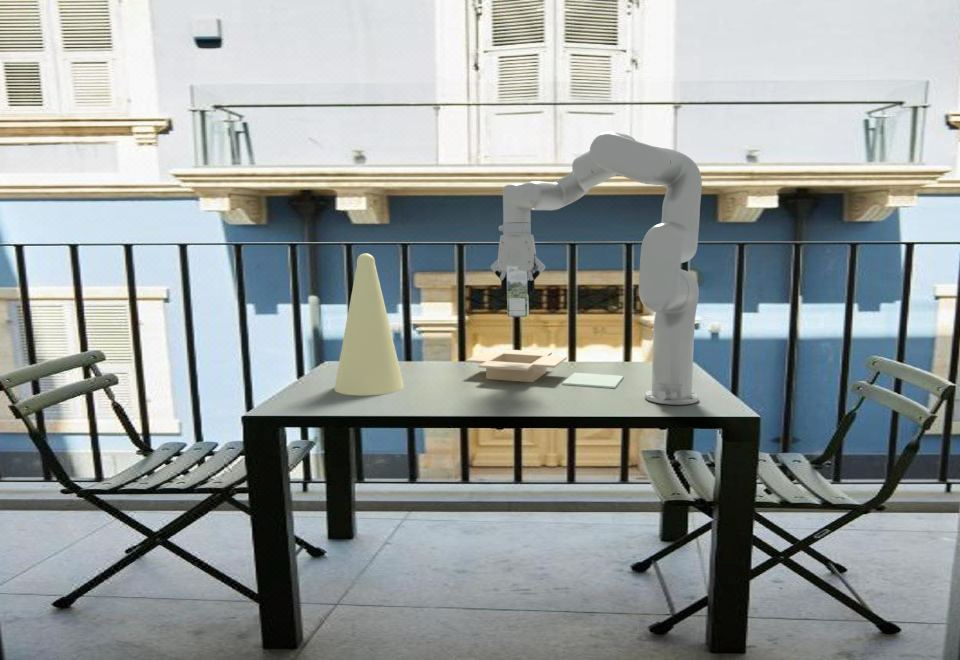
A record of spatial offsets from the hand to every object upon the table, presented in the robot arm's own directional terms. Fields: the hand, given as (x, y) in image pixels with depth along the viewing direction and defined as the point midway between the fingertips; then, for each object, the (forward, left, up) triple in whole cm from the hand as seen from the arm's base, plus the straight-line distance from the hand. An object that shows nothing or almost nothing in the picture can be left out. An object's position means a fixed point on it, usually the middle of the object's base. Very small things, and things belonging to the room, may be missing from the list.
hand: (517, 293), depth 196 cm
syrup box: (0, 0, -6) cm, 6 cm away
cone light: (-24, +34, -24) cm, 48 cm away
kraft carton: (0, 0, -23) cm, 23 cm away
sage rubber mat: (0, -22, -23) cm, 32 cm away
